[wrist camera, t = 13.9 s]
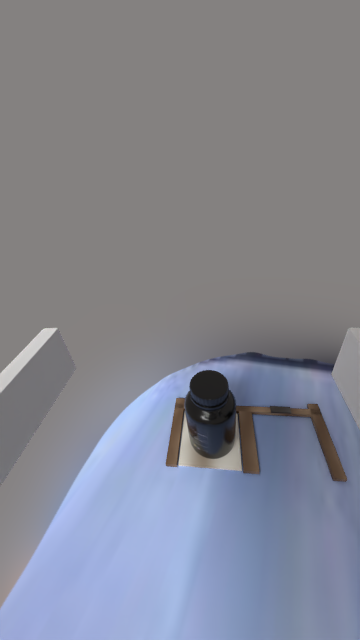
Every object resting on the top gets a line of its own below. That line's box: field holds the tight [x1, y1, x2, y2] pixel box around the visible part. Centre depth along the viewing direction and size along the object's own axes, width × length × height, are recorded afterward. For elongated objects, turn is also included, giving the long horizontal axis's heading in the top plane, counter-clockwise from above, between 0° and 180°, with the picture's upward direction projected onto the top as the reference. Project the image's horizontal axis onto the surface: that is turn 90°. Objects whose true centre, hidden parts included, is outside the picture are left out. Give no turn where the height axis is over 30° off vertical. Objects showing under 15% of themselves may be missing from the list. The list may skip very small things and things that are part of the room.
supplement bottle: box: [184, 370, 236, 459], centre depth 33 cm, size 7×7×12 cm
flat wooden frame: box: [166, 398, 347, 482], centre depth 37 cm, size 23×11×1 cm, turn 83°
